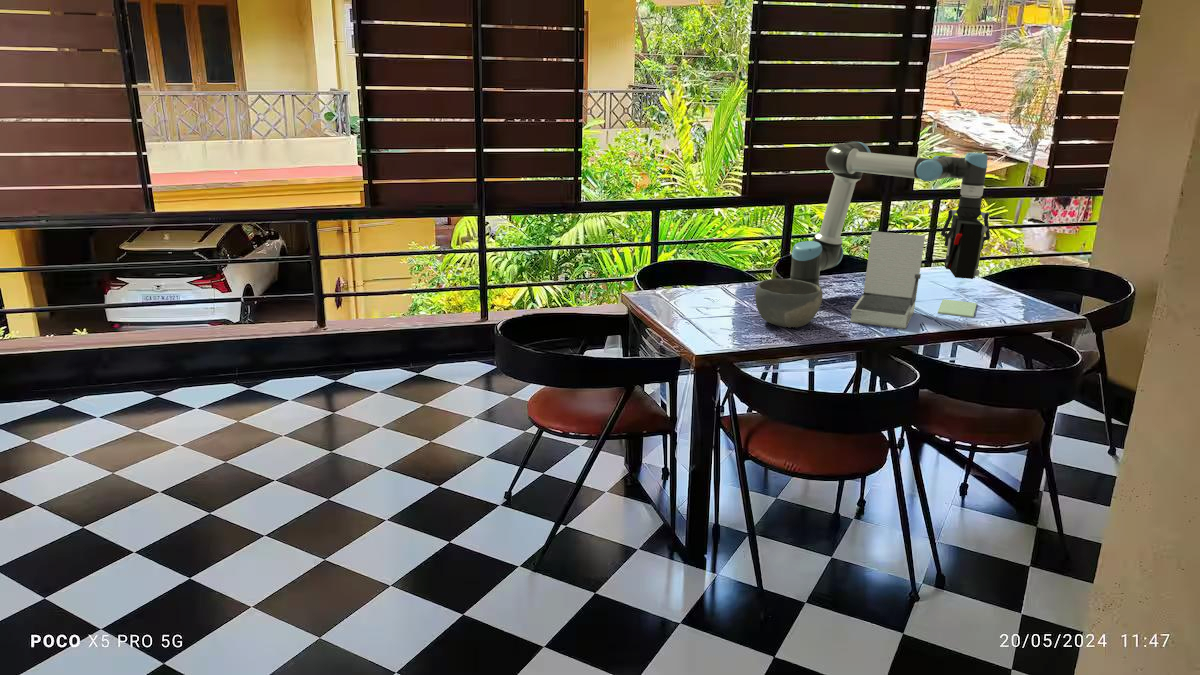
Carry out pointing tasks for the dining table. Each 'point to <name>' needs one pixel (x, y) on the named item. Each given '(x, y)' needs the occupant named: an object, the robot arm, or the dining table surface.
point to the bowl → (788, 301)
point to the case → (890, 280)
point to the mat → (957, 308)
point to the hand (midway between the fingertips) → (962, 256)
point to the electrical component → (965, 248)
